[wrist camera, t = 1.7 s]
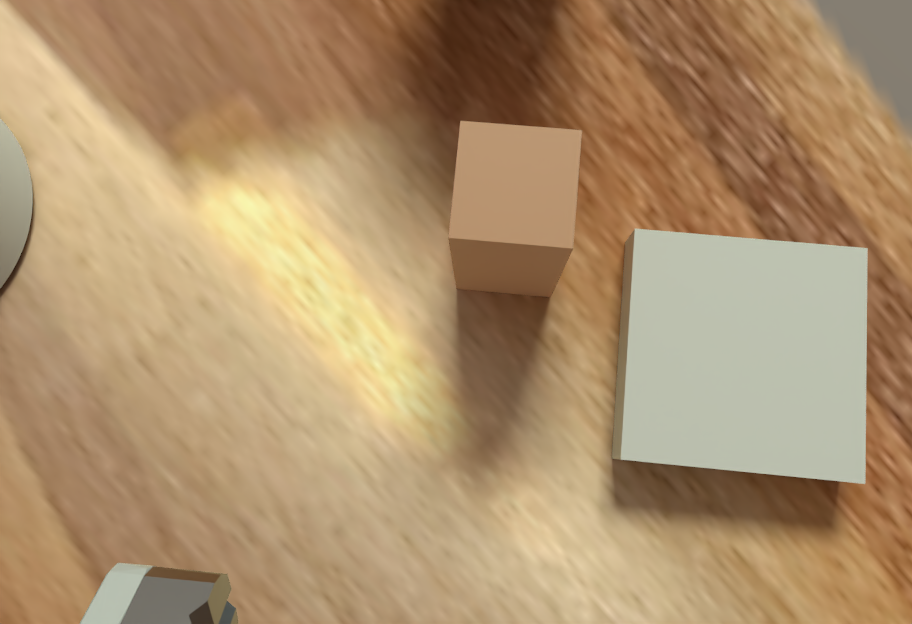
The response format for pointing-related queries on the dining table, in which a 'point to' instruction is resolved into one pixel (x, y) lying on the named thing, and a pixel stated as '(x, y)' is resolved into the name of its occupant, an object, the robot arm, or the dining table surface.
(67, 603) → the dining table surface
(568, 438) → the dining table surface
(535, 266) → the tan block
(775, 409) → the ceramic slab
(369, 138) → the dining table surface
